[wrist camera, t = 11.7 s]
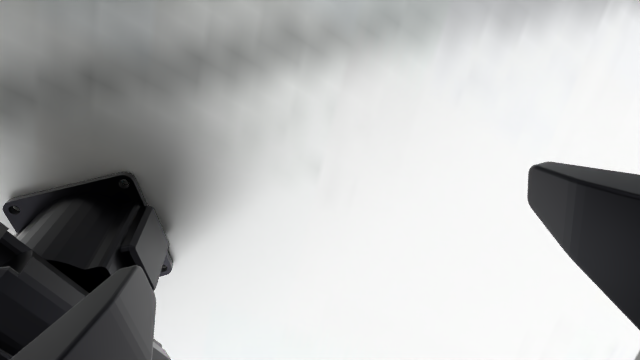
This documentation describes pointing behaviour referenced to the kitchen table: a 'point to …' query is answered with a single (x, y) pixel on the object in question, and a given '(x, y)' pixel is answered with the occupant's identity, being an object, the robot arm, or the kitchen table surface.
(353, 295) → the kitchen table surface
